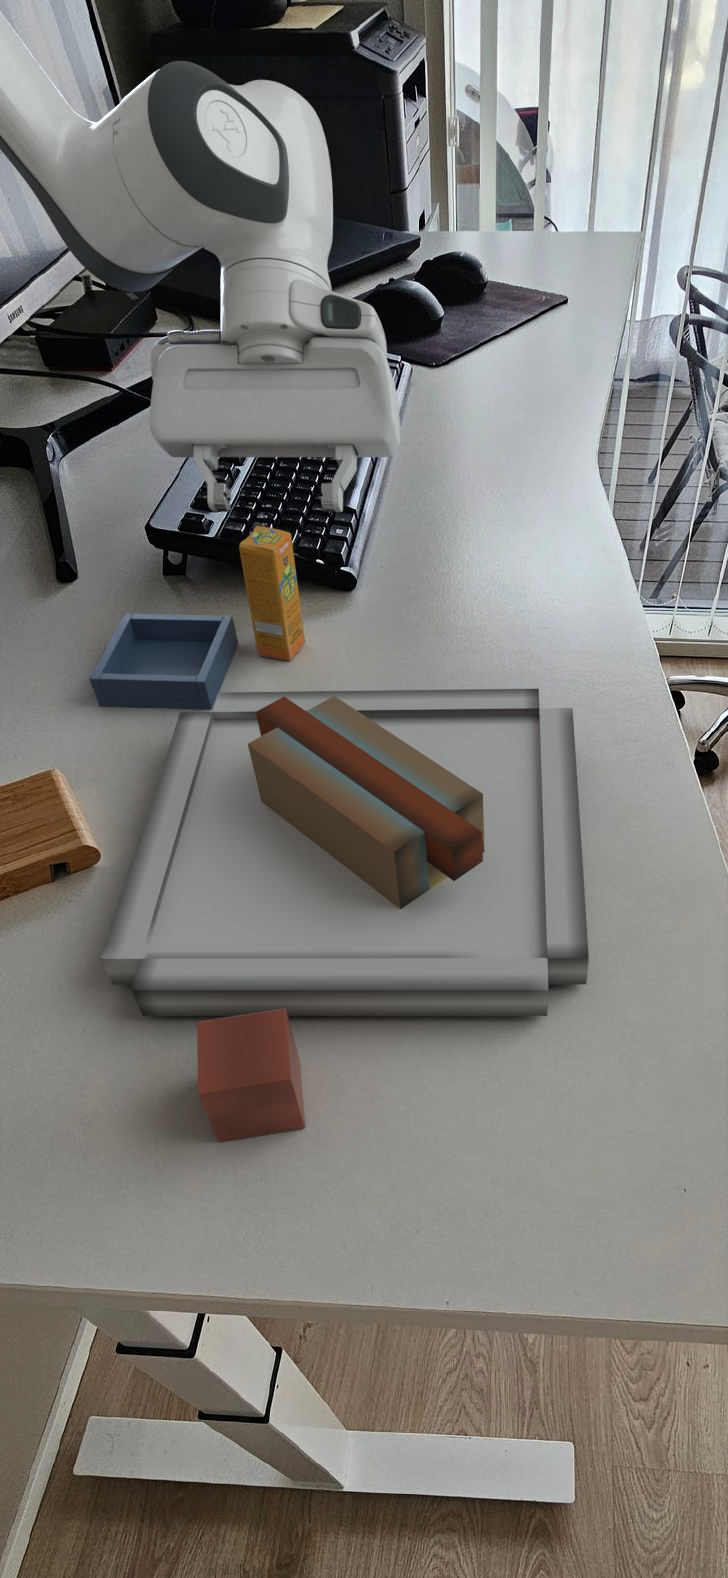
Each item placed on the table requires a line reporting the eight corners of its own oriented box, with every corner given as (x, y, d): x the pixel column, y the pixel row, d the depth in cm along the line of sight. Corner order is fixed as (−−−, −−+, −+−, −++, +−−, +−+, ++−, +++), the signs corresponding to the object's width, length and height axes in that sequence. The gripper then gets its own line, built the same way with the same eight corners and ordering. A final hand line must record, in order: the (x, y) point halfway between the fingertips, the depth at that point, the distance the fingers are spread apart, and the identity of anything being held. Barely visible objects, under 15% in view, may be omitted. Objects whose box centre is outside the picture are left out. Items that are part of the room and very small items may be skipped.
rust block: (218, 1142, 59) (197, 1094, 55) (216, 1072, 62) (196, 1021, 58) (305, 1128, 59) (291, 1079, 55) (299, 1059, 62) (285, 1007, 59)
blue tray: (98, 705, 85) (88, 678, 83) (132, 640, 91) (123, 613, 89) (211, 709, 85) (204, 681, 83) (238, 642, 91) (232, 615, 88)
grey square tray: (106, 1021, 65) (66, 941, 59) (195, 725, 83) (172, 642, 77) (587, 1022, 63) (595, 940, 58) (569, 721, 82) (574, 636, 76)
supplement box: (294, 663, 88) (273, 549, 80) (257, 656, 89) (233, 543, 81) (309, 641, 90) (290, 529, 82) (274, 635, 91) (252, 523, 83)
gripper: (136, 309, 81) (137, 494, 83) (394, 306, 80) (391, 495, 81) (165, 350, 87) (165, 522, 89) (405, 348, 86) (401, 523, 88)
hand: (275, 509), depth 85 cm, fingers open, 8 cm apart
